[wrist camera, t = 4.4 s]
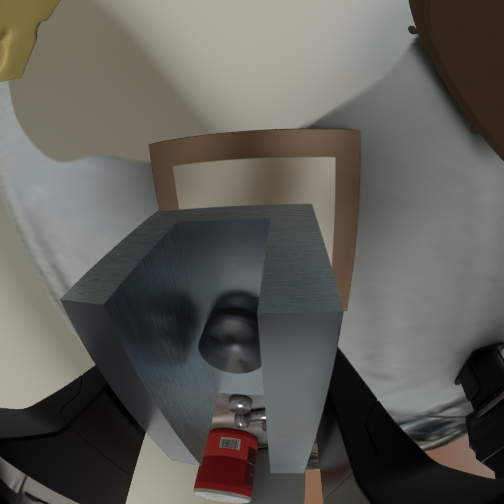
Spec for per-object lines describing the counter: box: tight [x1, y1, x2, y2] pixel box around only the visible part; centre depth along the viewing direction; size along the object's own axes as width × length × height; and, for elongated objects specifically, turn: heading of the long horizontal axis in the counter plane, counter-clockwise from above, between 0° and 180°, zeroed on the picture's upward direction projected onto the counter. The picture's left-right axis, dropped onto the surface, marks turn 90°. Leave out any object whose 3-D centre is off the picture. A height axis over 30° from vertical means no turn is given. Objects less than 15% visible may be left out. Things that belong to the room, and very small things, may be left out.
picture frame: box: [149, 129, 360, 311], centre depth 17 cm, size 12×12×2 cm
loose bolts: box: [228, 395, 267, 431], centre depth 28 cm, size 6×8×2 cm
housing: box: [60, 204, 343, 473], centre depth 8 cm, size 8×5×5 cm, turn 5°
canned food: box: [194, 429, 258, 503], centre depth 29 cm, size 8×8×11 cm
